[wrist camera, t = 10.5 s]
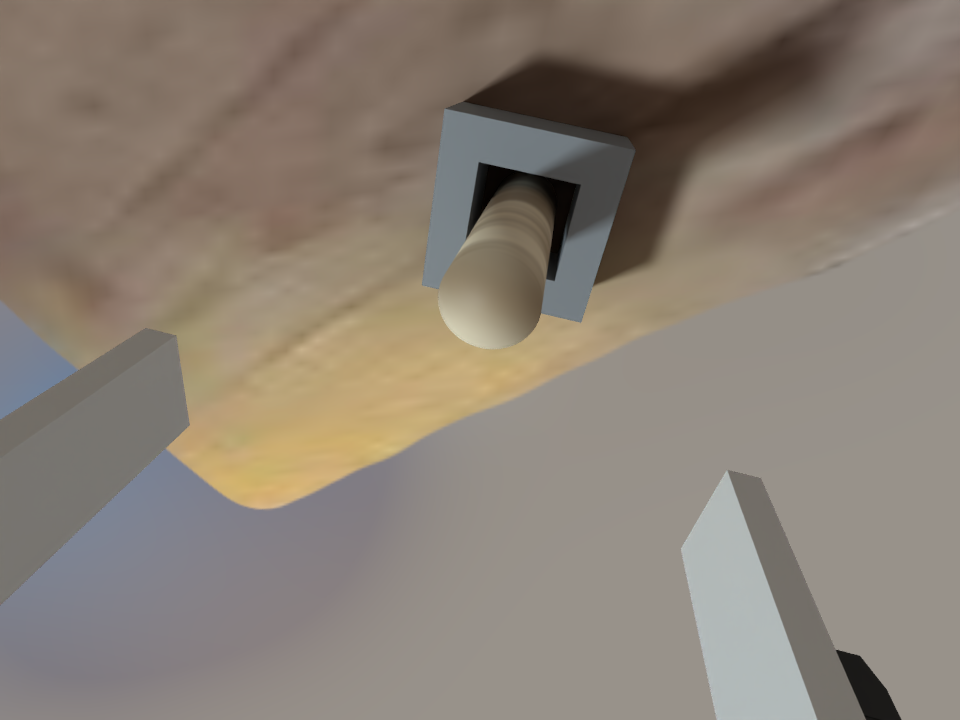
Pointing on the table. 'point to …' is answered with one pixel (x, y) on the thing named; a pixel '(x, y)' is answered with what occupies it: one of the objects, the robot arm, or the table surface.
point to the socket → (537, 150)
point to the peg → (502, 266)
